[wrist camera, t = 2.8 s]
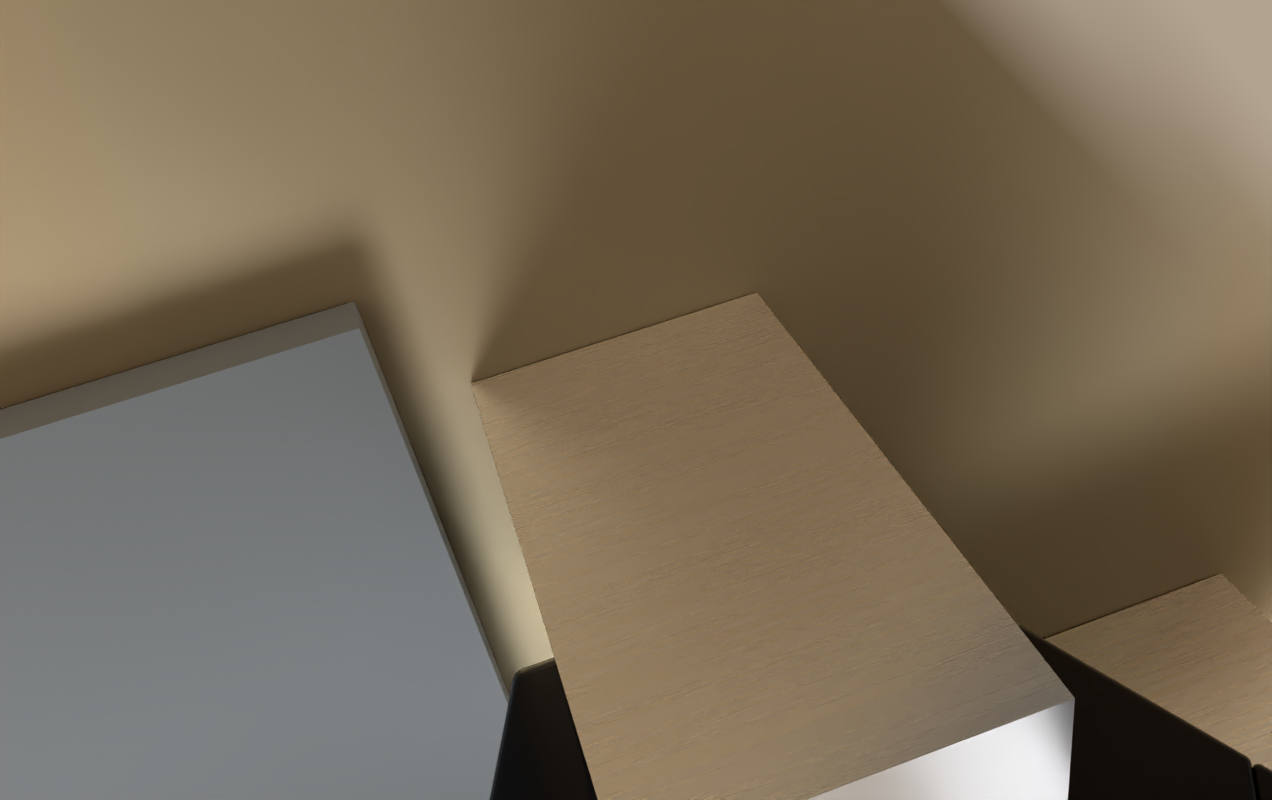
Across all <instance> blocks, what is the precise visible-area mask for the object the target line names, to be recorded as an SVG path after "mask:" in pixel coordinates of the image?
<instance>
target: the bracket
mask: <svg viewBox="0 0 1272 800" xmlns="http://www.w3.org/2000/svg"><path fill="white" fill-rule="evenodd" d="M471 386H472V389H473V393H474V396H475V399H476V403H477V406H478V409H479V412H480V416H481V419H482V422H483V425H484V429H485V432H486V435H487V439H488V442H489V445H490V448H491V452H492V455H493V458H494V461H495V465H496V468H497V471H498V475H499V478H500V481H501V484H502V488H503V491H504V494H505V497H506V501H507V504H508V507H509V511H510V514H511V517H512V520H513V524H514V527H515V530H516V533H517V537H518V540H519V543H520V547H521V550H522V553H523V556H524V560H525V563H526V566H527V569H528V573H529V576H530V579H531V583H532V586H533V589H534V592H535V596H536V599H537V602H538V605H539V609H540V612H541V615H542V619H543V622H544V625H545V628H546V632H547V635H548V638H549V641H550V645H551V648H552V651H553V655H554V658H555V661H556V664H557V668H558V671H559V674H560V677H561V681H562V684H563V687H564V691H565V694H566V697H567V700H568V704H569V707H570V710H571V713H572V717H573V720H574V723H575V727H576V730H577V733H578V736H579V740H580V743H581V746H582V749H583V753H584V756H585V759H586V763H587V766H588V769H589V772H590V776H591V779H592V782H593V785H594V789H595V792H596V795H597V799H598V800H1068V789H1069V775H1070V761H1071V747H1072V732H1073V718H1074V704H1075V698H1074V697H1073V695H1072V694H1071V693H1070V691H1069V690H1068V689H1067V688H1066V686H1065V685H1064V684H1063V683H1062V681H1061V680H1060V679H1059V677H1058V676H1057V675H1056V674H1055V672H1054V671H1053V670H1052V668H1051V667H1050V666H1049V665H1048V663H1047V662H1046V661H1045V660H1044V658H1043V657H1042V656H1041V654H1040V653H1039V652H1038V651H1037V649H1036V648H1035V647H1034V645H1033V644H1032V643H1031V642H1030V640H1029V639H1028V638H1027V637H1026V635H1025V634H1024V633H1023V631H1022V630H1021V629H1020V628H1019V626H1018V625H1017V624H1016V623H1015V621H1014V620H1013V619H1012V617H1011V616H1010V615H1009V614H1008V612H1007V611H1006V610H1005V608H1004V607H1003V606H1002V605H1001V603H1000V602H999V601H998V600H997V598H996V597H995V596H994V594H993V593H992V592H991V591H990V589H989V588H988V587H987V585H986V584H985V583H984V582H983V580H982V579H981V578H980V577H979V575H978V574H977V573H976V571H975V570H974V569H973V568H972V566H971V565H970V564H969V563H968V561H967V560H966V559H965V557H964V556H963V555H962V554H961V552H960V551H959V550H958V548H957V547H956V546H955V545H954V543H953V542H952V541H951V540H950V538H949V537H948V536H947V534H946V533H945V532H944V531H943V529H942V528H941V527H940V525H939V524H938V523H937V522H936V520H935V519H934V518H933V517H932V515H931V514H930V513H929V511H928V510H927V509H926V508H925V506H924V505H923V504H922V503H921V501H920V500H919V499H918V497H917V496H916V495H915V494H914V492H913V491H912V490H911V488H910V487H909V486H908V485H907V483H906V482H905V481H904V480H903V478H902V477H901V476H900V474H899V473H898V472H897V471H896V469H895V468H894V467H893V466H892V464H891V463H890V462H889V460H888V459H887V458H886V457H885V455H884V454H883V453H882V451H881V450H880V449H879V448H878V446H877V445H876V444H875V443H874V441H873V440H872V439H871V437H870V436H869V435H868V434H867V432H866V431H865V430H864V428H863V427H862V426H861V425H860V423H859V422H858V421H857V420H856V418H855V417H854V416H853V414H852V413H851V412H850V411H849V409H848V408H847V407H846V406H845V404H844V403H843V402H842V400H841V399H840V398H839V397H838V395H837V394H836V393H835V391H834V390H833V389H832V388H831V386H830V385H829V384H828V383H827V381H826V380H825V379H824V377H823V376H822V375H821V374H820V372H819V371H818V370H817V368H816V367H815V366H814V365H813V363H812V362H811V361H810V360H809V358H808V357H807V356H806V354H805V353H804V352H803V351H802V349H801V348H800V347H799V346H798V344H797V343H796V342H795V340H794V339H793V338H792V337H791V335H790V334H789V333H788V331H787V330H786V329H785V328H784V326H783V325H782V324H781V323H780V321H779V320H778V319H777V317H776V316H775V315H774V314H773V312H772V311H771V310H770V308H769V307H768V306H767V305H766V303H765V302H764V301H763V300H762V298H761V297H760V296H759V294H758V293H757V292H756V293H753V294H750V295H747V296H744V297H740V298H737V299H734V300H731V301H728V302H725V303H722V304H719V305H715V306H712V307H709V308H706V309H703V310H700V311H697V312H693V313H690V314H687V315H684V316H681V317H678V318H675V319H672V320H668V321H665V322H662V323H659V324H656V325H653V326H650V327H647V328H643V329H640V330H637V331H634V332H631V333H628V334H625V335H621V336H618V337H615V338H612V339H609V340H606V341H603V342H600V343H596V344H593V345H590V346H587V347H584V348H581V349H578V350H574V351H571V352H568V353H565V354H562V355H559V356H556V357H553V358H549V359H546V360H543V361H540V362H537V363H534V364H531V365H527V366H524V367H521V368H518V369H515V370H512V371H509V372H506V373H502V374H499V375H496V376H493V377H490V378H487V379H484V380H481V381H477V382H474V383H471ZM1045 640H1047V641H1048V642H1050V643H1052V644H1053V645H1055V646H1057V647H1059V648H1060V649H1062V650H1064V651H1066V652H1067V653H1069V654H1071V655H1072V656H1074V657H1076V658H1078V659H1079V660H1081V661H1083V662H1085V663H1086V664H1088V665H1090V666H1092V667H1093V668H1095V669H1097V670H1098V671H1100V672H1102V673H1104V674H1105V675H1107V676H1109V677H1111V678H1112V679H1114V680H1116V681H1117V682H1119V683H1121V684H1123V685H1124V686H1126V687H1128V688H1130V689H1131V690H1133V691H1135V692H1137V693H1138V694H1140V695H1142V696H1143V697H1145V698H1147V699H1149V700H1150V701H1152V702H1154V703H1156V704H1157V705H1159V706H1161V707H1162V708H1164V709H1166V710H1168V711H1169V712H1171V713H1173V714H1175V715H1176V716H1178V717H1180V718H1182V719H1183V720H1185V721H1187V722H1188V723H1190V724H1192V725H1194V726H1195V727H1197V728H1199V729H1201V730H1202V731H1204V732H1206V733H1208V734H1209V735H1211V736H1213V737H1214V738H1216V739H1218V740H1220V741H1221V742H1223V743H1225V744H1227V745H1228V746H1230V747H1232V748H1233V749H1235V750H1237V751H1239V752H1240V753H1242V754H1244V755H1246V756H1247V757H1249V759H1250V760H1251V764H1252V767H1253V765H1255V764H1262V765H1264V766H1265V767H1267V768H1269V769H1271V770H1272V622H1271V621H1270V620H1269V619H1268V618H1267V617H1266V616H1265V615H1264V614H1263V613H1262V612H1261V611H1259V610H1258V609H1257V608H1256V607H1255V606H1254V605H1253V604H1252V603H1251V602H1250V601H1249V600H1248V599H1247V598H1246V597H1245V596H1244V595H1243V594H1242V593H1241V592H1240V591H1239V590H1238V589H1237V588H1235V587H1234V586H1233V585H1232V584H1231V583H1230V582H1229V581H1228V580H1227V579H1226V578H1225V577H1224V576H1223V575H1222V574H1219V575H1216V576H1213V577H1210V578H1208V579H1205V580H1202V581H1200V582H1197V583H1194V584H1191V585H1189V586H1186V587H1183V588H1181V589H1178V590H1175V591H1173V592H1170V593H1167V594H1164V595H1162V596H1159V597H1156V598H1154V599H1151V600H1148V601H1146V602H1143V603H1140V604H1137V605H1135V606H1132V607H1129V608H1127V609H1124V610H1121V611H1119V612H1116V613H1113V614H1110V615H1108V616H1105V617H1102V618H1100V619H1097V620H1094V621H1092V622H1089V623H1086V624H1083V625H1081V626H1078V627H1075V628H1073V629H1070V630H1067V631H1064V632H1062V633H1059V634H1056V635H1054V636H1051V637H1048V638H1046V639H1045Z"/></svg>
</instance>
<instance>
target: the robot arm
mask: <svg viewBox="0 0 1272 800" xmlns="http://www.w3.org/2000/svg"><path fill="white" fill-rule="evenodd" d="M1016 624H1017V623H1016ZM1017 625H1018V626H1019V628H1020V629H1021V630H1022V631H1023V633H1024V634H1025V635H1026V637H1027V638H1028V639H1029V640H1030V642H1031V643H1032V644H1033V645H1034V647H1035V648H1036V649H1037V651H1038V652H1039V653H1040V654H1041V656H1042V657H1043V658H1044V660H1045V661H1046V662H1047V663H1048V665H1049V666H1050V667H1051V668H1052V670H1053V671H1054V672H1055V674H1056V675H1057V676H1058V677H1059V679H1060V680H1061V681H1062V683H1063V684H1064V685H1065V686H1066V688H1067V689H1068V690H1069V691H1070V693H1071V694H1072V695H1073V697H1074V698H1075V704H1074V718H1073V732H1072V747H1071V761H1070V775H1069V789H1068V800H1272V770H1271V769H1269V768H1267V767H1265V766H1264V765H1262V764H1255V765H1253V767H1252V764H1251V760H1250V759H1249V757H1247V756H1246V755H1244V754H1242V753H1240V752H1239V751H1237V750H1235V749H1233V748H1232V747H1230V746H1228V745H1227V744H1225V743H1223V742H1221V741H1220V740H1218V739H1216V738H1214V737H1213V736H1211V735H1209V734H1208V733H1206V732H1204V731H1202V730H1201V729H1199V728H1197V727H1195V726H1194V725H1192V724H1190V723H1188V722H1187V721H1185V720H1183V719H1182V718H1180V717H1178V716H1176V715H1175V714H1173V713H1171V712H1169V711H1168V710H1166V709H1164V708H1162V707H1161V706H1159V705H1157V704H1156V703H1154V702H1152V701H1150V700H1149V699H1147V698H1145V697H1143V696H1142V695H1140V694H1138V693H1137V692H1135V691H1133V690H1131V689H1130V688H1128V687H1126V686H1124V685H1123V684H1121V683H1119V682H1117V681H1116V680H1114V679H1112V678H1111V677H1109V676H1107V675H1105V674H1104V673H1102V672H1100V671H1098V670H1097V669H1095V668H1093V667H1092V666H1090V665H1088V664H1086V663H1085V662H1083V661H1081V660H1079V659H1078V658H1076V657H1074V656H1072V655H1071V654H1069V653H1067V652H1066V651H1064V650H1062V649H1060V648H1059V647H1057V646H1055V645H1053V644H1052V643H1050V642H1048V641H1047V640H1045V639H1043V638H1041V637H1040V636H1038V635H1036V634H1034V633H1033V632H1031V631H1029V630H1027V629H1026V628H1024V627H1022V626H1021V625H1019V624H1017ZM489 800H598V799H597V795H596V792H595V789H594V785H593V782H592V779H591V776H590V772H589V769H588V766H587V763H586V759H585V756H584V753H583V749H582V746H581V743H580V740H579V736H578V733H577V730H576V727H575V723H574V720H573V717H572V713H571V710H570V707H569V704H568V700H567V697H566V694H565V691H564V687H563V684H562V681H561V677H560V674H559V671H558V668H557V664H556V661H555V658H551V659H548V660H545V661H543V662H540V663H537V664H534V665H531V666H528V667H526V668H523V669H521V670H519V671H518V672H517V673H516V674H515V676H514V679H513V682H512V687H511V692H510V697H509V702H508V707H507V712H506V717H505V722H504V728H503V733H502V738H501V743H500V748H499V753H498V758H497V763H496V768H495V773H494V779H493V784H492V789H491V794H490V799H489Z"/></svg>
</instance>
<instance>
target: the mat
mask: <svg viewBox="0 0 1272 800" xmlns="http://www.w3.org/2000/svg"><path fill="white" fill-rule="evenodd" d="M508 702H509V694H508V691H507V689H506V686H505V684H504V681H503V679H502V676H501V674H500V671H499V668H498V666H497V663H496V661H495V658H494V656H493V653H492V651H491V648H490V645H489V643H488V640H487V638H486V635H485V633H484V630H483V628H482V625H481V622H480V620H479V617H478V615H477V612H476V610H475V607H474V605H473V602H472V599H471V597H470V594H469V592H468V589H467V587H466V584H465V582H464V579H463V576H462V574H461V571H460V569H459V566H458V564H457V561H456V559H455V556H454V553H453V551H452V548H451V546H450V543H449V541H448V538H447V536H446V533H445V530H444V528H443V525H442V523H441V520H440V518H439V515H438V513H437V510H436V508H435V505H434V502H433V500H432V497H431V495H430V492H429V490H428V487H427V485H426V482H425V479H424V477H423V474H422V472H421V469H420V467H419V464H418V462H417V459H416V456H415V454H414V451H413V449H412V446H411V444H410V441H409V439H408V436H407V433H406V431H405V428H404V426H403V423H402V421H401V418H400V416H399V413H398V410H397V408H396V405H395V403H394V400H393V398H392V395H391V393H390V390H389V387H388V385H387V382H386V380H385V377H384V375H383V372H382V370H381V367H380V364H379V362H378V359H377V357H376V354H375V352H374V349H373V347H372V344H371V341H370V339H369V336H368V334H367V331H366V329H365V326H364V324H363V321H362V318H361V316H360V313H359V311H358V308H357V306H356V303H355V301H353V302H350V303H347V304H344V305H340V306H337V307H334V308H331V309H327V310H324V311H321V312H318V313H314V314H311V315H308V316H304V317H301V318H298V319H295V320H291V321H288V322H285V323H282V324H278V325H275V326H272V327H269V328H265V329H262V330H259V331H255V332H252V333H249V334H246V335H242V336H239V337H236V338H233V339H229V340H226V341H223V342H220V343H216V344H213V345H210V346H206V347H203V348H200V349H197V350H193V351H190V352H187V353H184V354H180V355H177V356H174V357H171V358H167V359H164V360H161V361H157V362H154V363H151V364H148V365H144V366H141V367H138V368H135V369H131V370H128V371H125V372H122V373H118V374H115V375H112V376H108V377H105V378H102V379H99V380H95V381H92V382H89V383H86V384H82V385H79V386H76V387H73V388H69V389H66V390H63V391H59V392H56V393H53V394H50V395H46V396H43V397H40V398H37V399H33V400H30V401H27V402H23V403H20V404H17V405H14V406H10V407H7V408H4V409H1V410H0V800H489V799H490V794H491V789H492V784H493V779H494V773H495V768H496V763H497V758H498V753H499V748H500V743H501V738H502V733H503V728H504V722H505V717H506V712H507V707H508Z"/></svg>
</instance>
